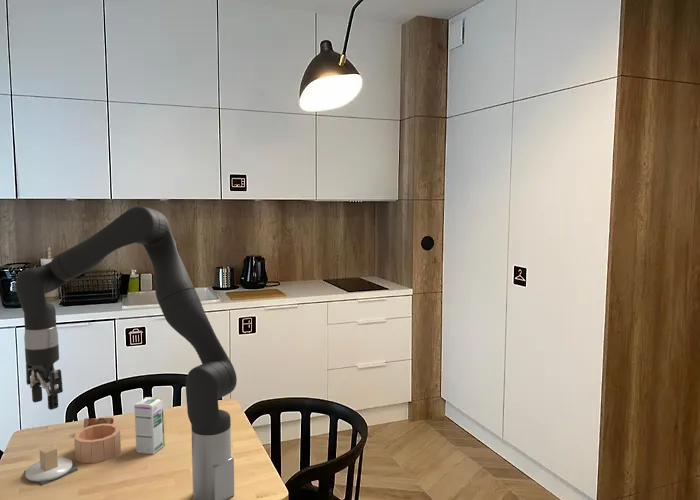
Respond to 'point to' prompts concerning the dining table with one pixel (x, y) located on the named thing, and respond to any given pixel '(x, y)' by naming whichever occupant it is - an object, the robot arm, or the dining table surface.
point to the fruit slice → (97, 421)
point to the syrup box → (149, 425)
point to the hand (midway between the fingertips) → (45, 405)
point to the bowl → (97, 443)
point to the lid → (48, 466)
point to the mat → (58, 477)
